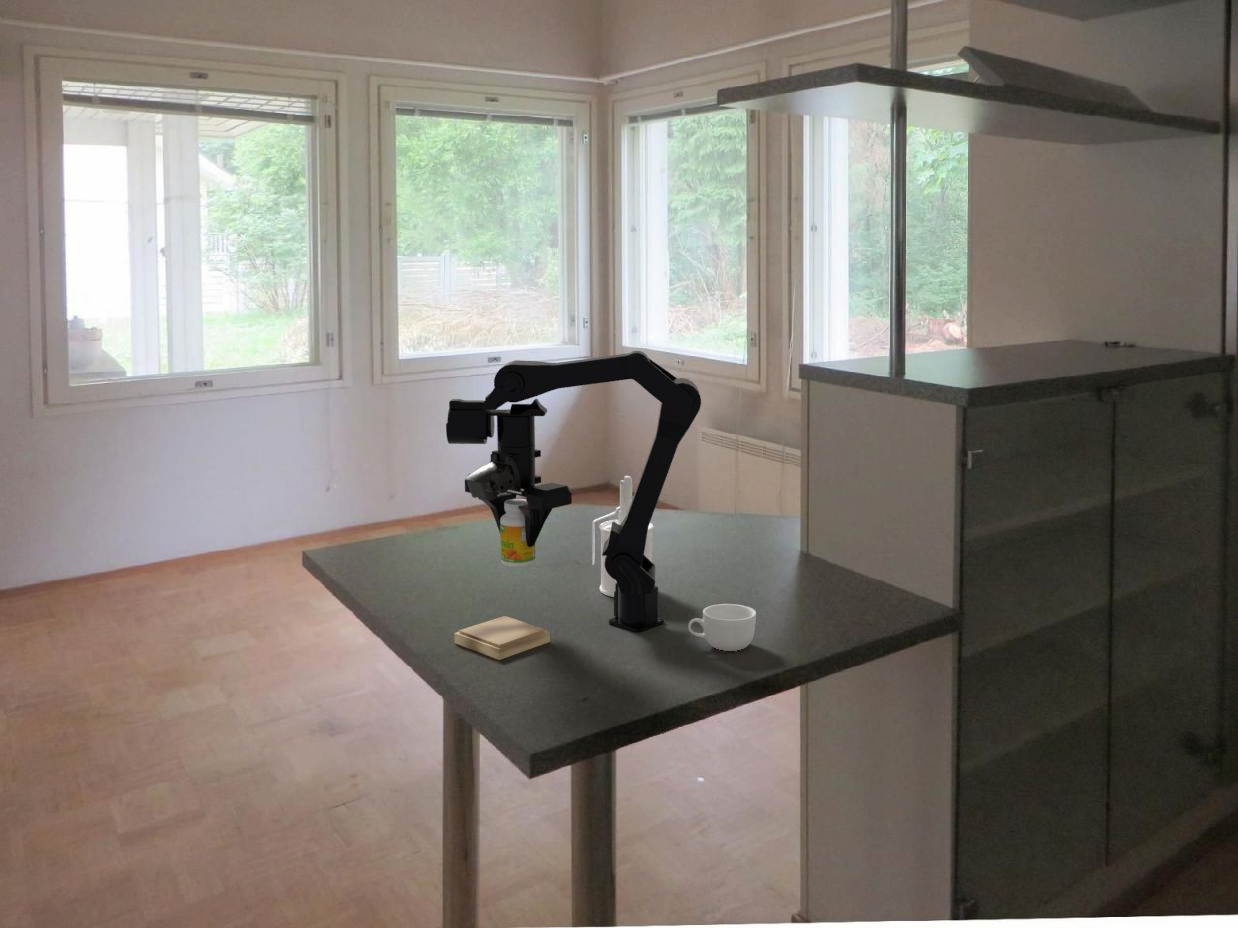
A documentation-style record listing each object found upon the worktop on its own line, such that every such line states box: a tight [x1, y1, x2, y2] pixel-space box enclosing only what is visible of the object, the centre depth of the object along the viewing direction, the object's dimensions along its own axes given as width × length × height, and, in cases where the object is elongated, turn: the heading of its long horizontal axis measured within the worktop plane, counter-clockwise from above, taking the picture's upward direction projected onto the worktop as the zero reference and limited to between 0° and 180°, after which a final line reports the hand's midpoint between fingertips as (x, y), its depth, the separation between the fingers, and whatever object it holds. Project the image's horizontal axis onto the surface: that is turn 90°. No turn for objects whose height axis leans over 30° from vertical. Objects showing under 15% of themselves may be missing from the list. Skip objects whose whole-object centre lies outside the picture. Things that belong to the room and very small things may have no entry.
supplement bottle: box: [499, 498, 536, 567], centre depth 172 cm, size 5×5×10 cm
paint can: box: [591, 475, 655, 598], centre depth 189 cm, size 10×9×20 cm
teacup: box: [687, 603, 757, 652], centre depth 164 cm, size 10×8×5 cm
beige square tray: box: [454, 615, 551, 661], centre depth 166 cm, size 10×10×2 cm
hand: (518, 543), depth 173 cm, fingers closed on supplement bottle, 5 cm apart
